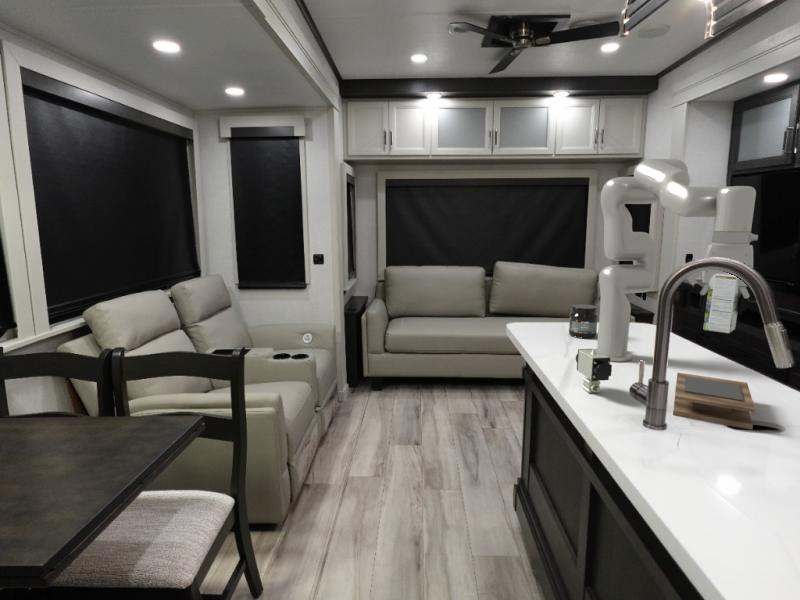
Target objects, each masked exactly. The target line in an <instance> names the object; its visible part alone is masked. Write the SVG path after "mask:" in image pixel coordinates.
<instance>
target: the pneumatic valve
mask: <svg viewBox="0 0 800 600" xmlns="http://www.w3.org/2000/svg"><path fill="white" fill-rule="evenodd" d="M595 349H596V348H579V349H577V353H576V355H575V362H576V371H577V372H579V373H580V374H582V375H583V376H585V377H583V378H582V380H583V381H582V383H583V384H582V389H583V390H584V391H585V392H587V393H588V394H591V393H597V394H598V393H600V392H601V391H600V389H601V385H600V384H601V381H609V380H610V377H612V368H613V364H611V361H610V358H609V357H607V356H606V354H604V353H600V352H598V351H596V350H595Z"/></svg>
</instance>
